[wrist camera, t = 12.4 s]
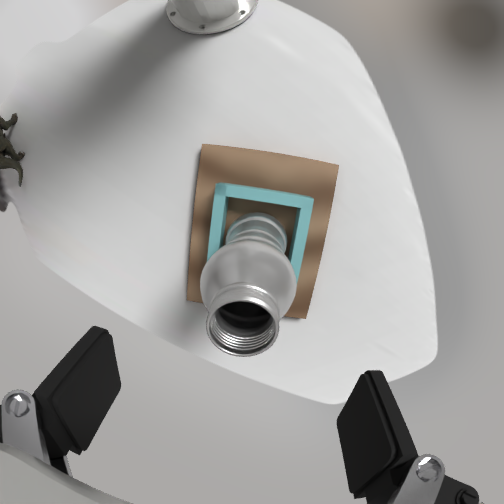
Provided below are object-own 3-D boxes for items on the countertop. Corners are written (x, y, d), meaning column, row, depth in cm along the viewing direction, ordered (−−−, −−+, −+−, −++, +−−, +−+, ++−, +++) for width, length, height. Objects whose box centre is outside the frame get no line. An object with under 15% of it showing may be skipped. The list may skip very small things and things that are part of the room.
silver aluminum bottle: (290, 256, 33) (316, 366, 14) (235, 266, 34) (199, 380, 15) (279, 203, 31) (300, 256, 12) (222, 215, 32) (160, 282, 13)
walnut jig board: (205, 145, 31) (195, 141, 27) (335, 165, 31) (345, 164, 27) (189, 295, 37) (180, 310, 33) (304, 313, 37) (308, 330, 32)
